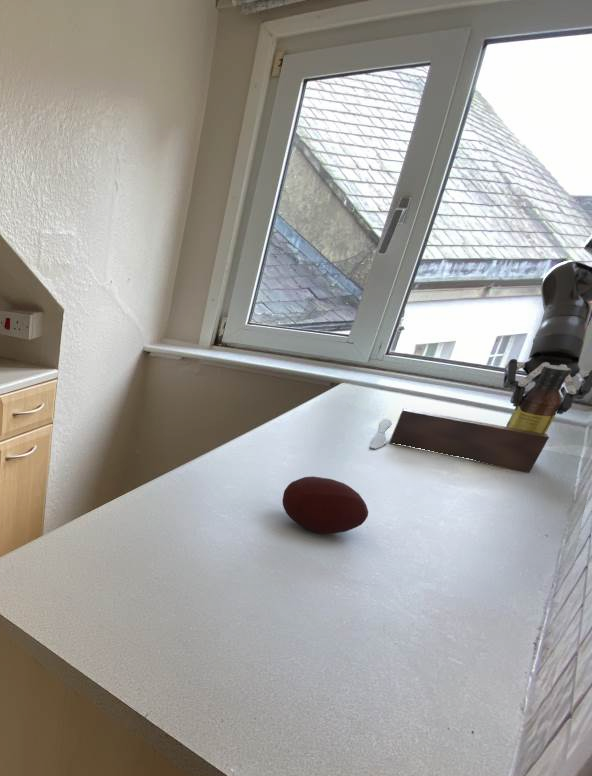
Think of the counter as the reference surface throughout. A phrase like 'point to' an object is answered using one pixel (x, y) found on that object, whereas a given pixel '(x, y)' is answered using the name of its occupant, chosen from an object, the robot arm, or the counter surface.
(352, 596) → the counter surface
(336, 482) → the potato
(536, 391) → the sauce bottle
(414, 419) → the backsplash board
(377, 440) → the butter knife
